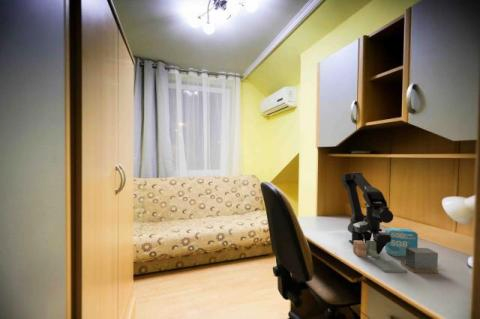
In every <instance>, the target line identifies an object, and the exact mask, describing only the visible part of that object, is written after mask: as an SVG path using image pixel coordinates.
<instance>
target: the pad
mask: <svg viewBox="0 0 480 319" xmlns="http://www.w3.org/2000/svg"><path fill="white" fill-rule="evenodd" d="M371 263H373V264H374V265H375V266H376V267H378V268H379V269H380V270H381V271H382V272H384V273H404V274H405V273H406V274H407V273H408V269H407V268H405V267H404V266H402V265H400V264H399V263H397V262H395V261H394V260H390V259H388V260H387V259H386V260H385V259H372V260H371Z"/></svg>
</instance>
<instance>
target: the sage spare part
mask: <svg viewBox="0 0 480 319" xmlns="http://www.w3.org/2000/svg"><path fill="white" fill-rule="evenodd" d="M366 255H368V256H369V257H370V256H371V258H372V257H374V258H375V257H376V258H379V257H380V254H377V252H376V242H375V241H374V240H370V241H366Z"/></svg>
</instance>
